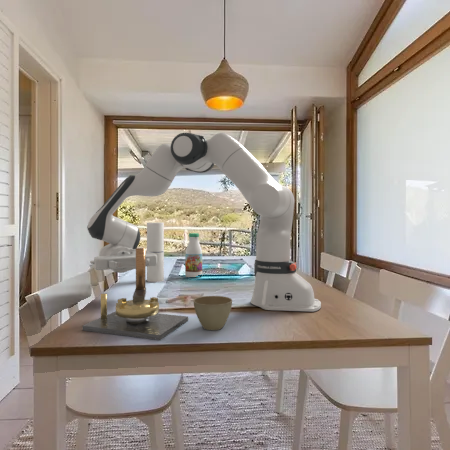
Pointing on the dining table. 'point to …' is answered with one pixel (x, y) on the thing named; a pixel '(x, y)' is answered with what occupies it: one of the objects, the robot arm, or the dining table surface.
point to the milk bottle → (193, 256)
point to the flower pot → (212, 311)
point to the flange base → (135, 324)
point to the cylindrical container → (156, 250)
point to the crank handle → (138, 294)
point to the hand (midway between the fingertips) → (133, 264)
